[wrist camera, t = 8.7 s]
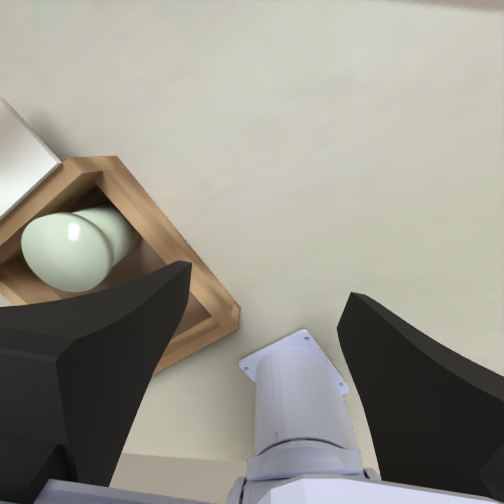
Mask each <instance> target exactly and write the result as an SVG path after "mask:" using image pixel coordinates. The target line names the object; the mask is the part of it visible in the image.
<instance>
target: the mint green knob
mask: <svg viewBox="0 0 504 504" xmlns="http://www.w3.org/2000/svg"><path fill="white" fill-rule="evenodd" d="M140 240H141V234H140V233H139V232H138V231H137V230H136V229H135V228H134V226H133V225H132V224H131V223H130V222H129V221H128V220H127V218H126V217H125V216H124V215H123V214H122V213H121V212H120V211H119V209H118V208H117V207H116V206H115V205H114V204H113V203H101V204H98V205H95V206H92V207H89V208H85V209H82V210H79V211H76V212H73V213H67V212H59V213H53V214H50V215H47V216H43V217H40V218H37V219H35V220H33V221H32V222H31V223H29V224H28V225H27V227H26V228H25V230H24V232H23V235H22V240H21V245H22V251H23V255H24V257H25V260H26V262H27V263H28V265H29V266H30V268H31V269H32V270H33V272H34V273H35V274H36V275H37V276H38V277H39V278H41V279H42V280H43V281H44V282H46V283H47V284H49V285H51V286H53V287H55V288H57V289H60V290H63V291H67V292H84V291H87V290H90V289H92V288H94V287H95V286H96V285H98V284H99V283H100V282H101V281H103V280H104V279H105V278H106V277H107V276H108V275H109V273H110V272H111V270H112V267H113V266H114V265H116V264H117V263H118V262H119V261H121V260H122V259H123V258H125V257H126V256H127V255H128V254H130V253H131V252H132V251H133V250H135V249H136V248H137V246H138V245H139V243H140Z"/></svg>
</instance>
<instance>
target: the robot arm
mask: <svg viewBox="0 0 504 504" xmlns="http://www.w3.org/2000/svg"><path fill="white" fill-rule="evenodd" d="M191 271H192V263H191V262H186V261H181V260H178V261H175V262H173V263H171V264H168V265H166V266H164V267H162V268H160V269H158V270H156V271H153V272H151V273H149V274H147V275H144V276H142V277H139V278H137V279H134V280H132V281H129V282H127V283H124V284H121V285H118V286H115V287H112V288H108V289H105V290H101V291H98V292H94V293H89V294H85V295H80V296H76V297H71V298H66V299H61V300H55V301H49V302H42V303H35V304H27V305H19V306H8V307H0V504H216V503H210V502H203V501H196V500H189V499H183V498H176V497H169V496H162V495H156V494H149V493H142V492H136V491H129V490H122V489H115V488H109V484H110V482H111V479H112V476H113V473H114V471H115V468H116V465H117V462H118V460H119V457H120V455H121V452H122V450H123V447H124V444H125V442H126V439H127V437H128V434H129V431H130V429H131V426H132V424H133V421H134V419H135V416H136V414H137V411H138V409H139V406H140V404H141V401H142V399H143V396H144V394H145V392H146V389H147V387H148V384H149V382H150V380H151V377H152V375H153V373H154V371H155V368H156V366H157V364H158V362H159V361H160V359H161V357H162V355H163V353H164V351H165V350H166V348H167V346H168V344H169V342H170V340H171V339H172V337H173V335H174V333H175V331H176V329H177V327H178V326H179V324H180V322H181V320H182V317H183V314H184V312H185V309H186V306H187V304H188V299H189V290H190V281H191ZM337 332H338V337H339V342H340V346H341V349H342V352H343V355H344V358H345V360H346V363H347V365H348V368H349V371H350V373H351V376H352V378H353V381H354V383H355V386H356V389H357V391H358V394H359V396H360V399H361V402H362V405H363V408H364V411H365V415H366V418H367V422H368V426H369V429H370V433H371V437H372V441H373V445H374V449H375V453H376V457H377V461H378V465H379V470H380V475H381V477H380V476H379V475H378V474H377V472H376V471H375V470H374V469H373V468H365V469H362V456H361V452H360V449H359V446H358V443H357V440H356V437H355V434H354V430H353V427H352V424H351V421H350V418H349V415H348V412H347V409H346V406H345V403H344V400H343V397H342V395H344V394H347V393H348V392H349V391H350V389H349V386H348V385H347V383H346V382H345V381H344V379H343V378H342V377H341V375H340V374H339V372H338V371H337V370H336V368H335V367H334V366H333V364H332V363H331V362H330V360H329V359H328V357H327V356H326V355H325V353H324V352H323V351H322V349H321V348H320V346H319V345H318V344H317V342H316V341H315V340H314V338H313V337H312V336H311V334H310V333H309V331H308V330H306V329H301V330H299V331H297V332H295V333H293V334H291V335H289V336H287V337H285V338H283V339H281V340H279V341H277V342H275V343H273V344H271V345H269V346H267V347H265V348H263V349H261V350H259V351H257V352H255V353H253V354H251V355H249V356H247V357H245V358H243V359H241V360H240V361H239V367H240V368H241V370H242V371H243V372H244V373H245V374H246V375H247V376H248V377H249V378H250V379H251V381H252V382H253V383H254V384H255V422H254V457H251V458H248V459H247V477H239V478H238V479H237V480H236V482H235V484H234V486H233V488H232V489H231V491H230V492H229V494H228V497H227V500H226V504H504V377H503V376H501V375H499V374H497V373H495V372H493V371H491V370H489V369H487V368H485V367H483V366H481V365H479V364H477V363H475V362H473V361H471V360H469V359H467V358H465V357H463V356H461V355H460V354H458V353H456V352H454V351H452V350H451V349H449V348H447V347H445V346H443V345H442V344H440V343H438V342H437V341H435V340H433V339H432V338H430V337H429V336H427V335H426V334H424V333H422V332H421V331H419V330H418V329H416V328H415V327H413V326H412V325H410V324H409V323H407V322H406V321H404V320H403V319H401V318H400V317H398V316H397V315H395V314H394V313H393V312H391V311H390V310H388V309H387V308H385V307H384V306H382V305H381V304H380V303H378V302H376V301H375V300H373V299H372V298H370V297H368V296H366V295H364V294H359V293H354V292H351V293H350V296H349V298H348V301H347V303H346V306H345V308H344V311H343V313H342V316H341V319H340V321H339V324H338V326H337ZM305 337H308V338H305ZM246 367H247V368H246Z"/></svg>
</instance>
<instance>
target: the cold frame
mask: <svg viewBox="0 0 504 504" xmlns="http://www.w3.org/2000/svg"><path fill="white" fill-rule="evenodd" d="M101 203H113V204H114V205H115V206H116V207H117V208H118V209H119V211H120V212H121V213H122V214H123V215H124V216H125V217H126V218H127V220H128V221H129V222H130V223H131V224H132V225H133V226H134V228H135V229H136V230H137V231H138V232H139V233H140V234H141V240H140V243H139V245H138V246H137V248H136V249H135V250H133V251H132V252H131V253H130V254H128V255H127V256H126V257H125V258H123V259H122V260H121V261H119V262H118V263H117V264H116V265H114V266H113V267H112V270H111V272H110V273H109V275H108V276H107V277H106V278H105V279H104V280H103V281H101V282H100V283H99V284H98V285H96V286H95V287H94V288H92V289H90V290H87V291H84V292H67V291H63V290H60V289H57V288H55V287H53V286H51V285H49V284H47V283H46V282H44V281H43V280H42V279H41V278H39V277H38V276H37V275H36V274H35V273H34V272H33V270H32V269H31V268H30V266H29V265H28V263H27V262H26V260H25V257H24V255H23V251H22V245H21V240H22V235H23V232H24V230H25V228H26V227H27V225H28V224H29V223H31V222H32V221H33V220H35V219H37V218H40V217H43V216H47V215H50V214H53V213H59V212H67V213H73V212H76V211H79V210H82V209H85V208H89V207H92V206H95V205H98V204H101ZM178 260H181V261H186V262H191V263H192V271H191V281H190V290H189V299H188V304H187V306H186V309H185V312H184V314H183V317H182V320H181V322H180V324H179V326H178V327H177V329H176V331H175V333H174V335H173V337H172V339H171V340H170V342H169V344H168V346H167V348H166V350H165V351H164V353H163V355H162V357H161V359H160V361H159V362H158V364H157V366H156V368H155V371H154V373H153V374H155V373H157V372H159V371H161V370H163V369H164V368H166V367H168V366H170V365H172V364H174V363H176V362H177V361H179V360H181V359H183V358H185V357H187V356H189V355H190V354H192V353H194V352H196V351H198V350H200V349H202V348H203V347H205V346H207V345H209V344H211V343H213V342H215V341H216V340H218V339H220V338H222V337H224V336H226V335H228V334H229V333H231V332H233V331H235V330H237V329H238V323H239V316H240V306H239V305H238V304H237V303H236V301H235V300H234V299H233V298H232V297H231V295H230V294H229V293H228V292H227V290H226V289H225V288H224V287H223V286H222V284H221V283H220V282H219V281H218V279H217V278H216V277H215V276H214V275H213V273H212V272H211V271H210V270H209V268H208V267H207V266H206V265H205V263H204V262H203V261H202V260H201V259H200V257H199V256H198V255H197V254H196V252H195V251H194V250H193V249H192V248H191V246H190V245H189V244H188V243H187V241H186V240H185V239H184V238H183V237H182V235H181V234H180V233H179V232H178V230H177V229H176V228H175V227H174V226H173V224H172V223H171V222H170V221H169V219H168V218H167V217H166V216H165V215H164V213H163V212H162V211H161V210H160V208H159V207H158V206H157V205H156V203H155V202H154V201H153V200H152V199H151V197H150V196H149V195H148V194H147V192H146V191H145V190H144V189H143V188H142V186H141V185H140V184H139V183H138V181H137V180H136V179H135V178H134V177H133V175H132V174H131V173H130V172H129V170H128V169H127V168H126V167H125V166H124V164H123V163H122V162H121V161H120V159H119V158H118V157H117V156H98V157H71V158H67V159H66V160H65V161H64V162H63V163H62V162H61V161H60V159H59V158H58V157H57V156H56V155H55V154H54V153H53V152H52V151H51V149H50V148H49V147H48V146H47V145H46V144H45V143H44V142H43V141H42V139H41V138H40V137H39V136H38V135H37V134H36V133H35V132H34V130H33V129H32V128H31V127H30V126H29V125H28V124H27V123H26V122H25V120H24V119H23V118H22V117H21V116H20V115H19V114H18V113H17V112H16V110H15V109H14V108H13V107H12V106H11V105H10V104H9V103H8V101H7V100H6V99H5V98H4V97H3V96H2V95H1V94H0V293H1V294H2V295H3V296H4V297H6V298H7V299H8V300H9V301H10V302H12V303H13V304H14V305H15V306H19V305H27V304H35V303H42V302H49V301H55V300H61V299H66V298H71V297H76V296H80V295H85V294H89V293H94V292H98V291H101V290H105V289H108V288H112V287H115V286H118V285H121V284H124V283H127V282H129V281H132V280H134V279H137V278H139V277H142V276H144V275H147V274H149V273H151V272H153V271H156V270H158V269H160V268H162V267H164V266H166V265H168V264H171V263H173V262H175V261H178Z"/></svg>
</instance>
